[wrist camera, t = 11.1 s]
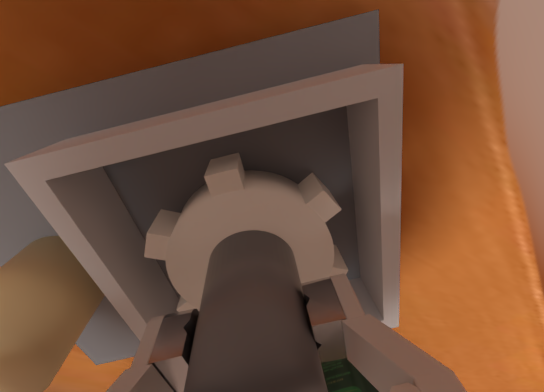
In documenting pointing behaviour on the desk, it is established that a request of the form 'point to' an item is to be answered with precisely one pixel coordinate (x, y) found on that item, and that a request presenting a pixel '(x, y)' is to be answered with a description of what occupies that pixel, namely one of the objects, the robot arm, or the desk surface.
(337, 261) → the gear
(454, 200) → the desk surface
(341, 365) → the coffee jar
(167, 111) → the carrier board
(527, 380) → the desk surface
